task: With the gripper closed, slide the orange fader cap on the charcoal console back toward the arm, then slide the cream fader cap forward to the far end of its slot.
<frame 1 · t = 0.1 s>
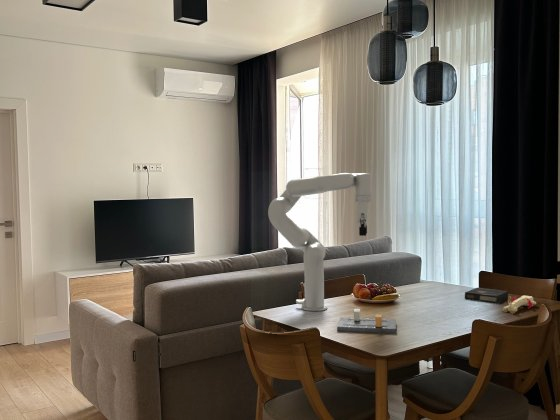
hand: (363, 234, 269), 37 cm above the table, tool pointing down, fingers open, 9 cm apart
cream fader: (357, 314, 244), point 4 cm above the table, slide at 2.5 cm
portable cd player: (486, 299, 294), on the table
orange fader: (378, 320, 233), point 4 cm above the table, slide at 12.0 cm
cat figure: (519, 309, 270), on the table
console: (367, 327, 239), on the table
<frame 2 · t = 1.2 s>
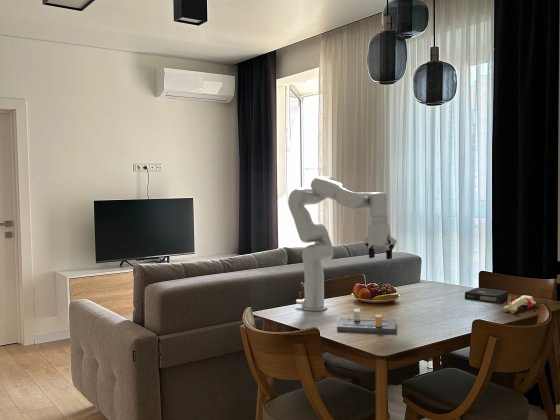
hand: (380, 258, 249), 28 cm above the table, tool pointing down, fingers open, 9 cm apart
nothing on the table moved.
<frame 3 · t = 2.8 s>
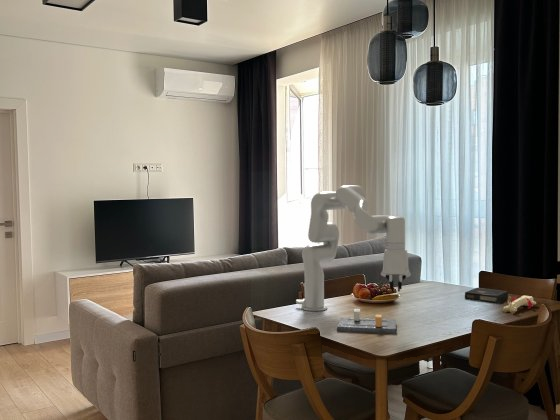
hand: (395, 290, 231), 17 cm above the table, tool pointing down, fingers closed
nothing on the table moved.
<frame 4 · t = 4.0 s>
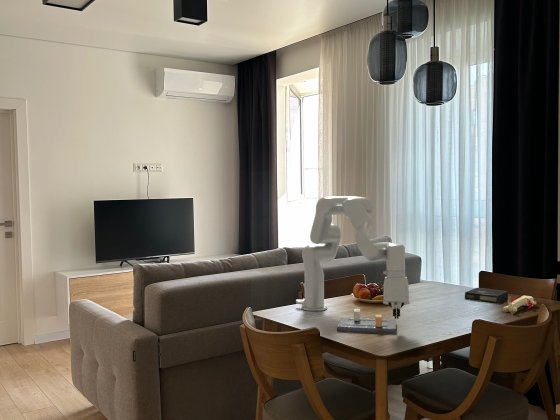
hand: (396, 318, 231), 6 cm above the table, tool pointing down, fingers closed
nothing on the table moved.
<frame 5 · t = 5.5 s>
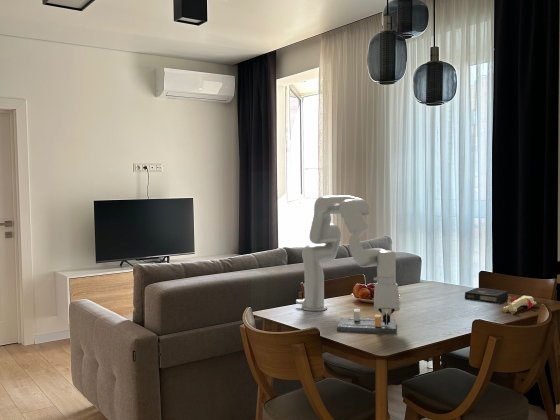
hand: (386, 324, 232), 3 cm above the table, tool pointing down, fingers closed
orange fader: (377, 320, 233), point 4 cm above the table, slide at 11.7 cm, touching gripper
everything else where it was.
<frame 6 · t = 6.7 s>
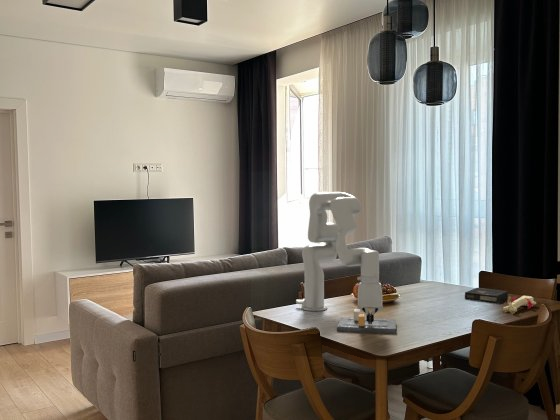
hand: (370, 323, 234), 3 cm above the table, tool pointing down, fingers closed
orange fader: (361, 319, 234), point 4 cm above the table, slide at 4.9 cm, touching gripper
everything else where it was.
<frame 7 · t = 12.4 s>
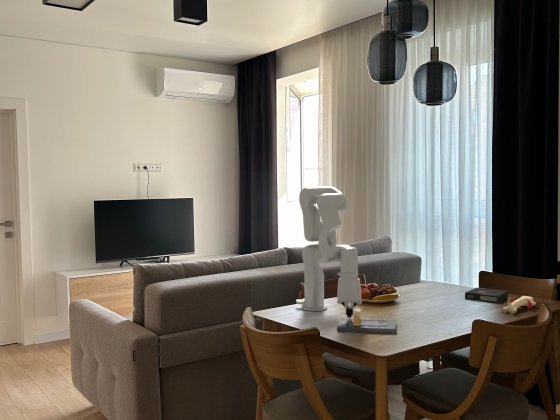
hand: (349, 317, 244), 3 cm above the table, tool pointing down, fingers closed
cream fader: (357, 314, 244), point 4 cm above the table, slide at 2.7 cm, touching gripper
orange fader: (356, 319, 235), point 4 cm above the table, slide at 3.0 cm
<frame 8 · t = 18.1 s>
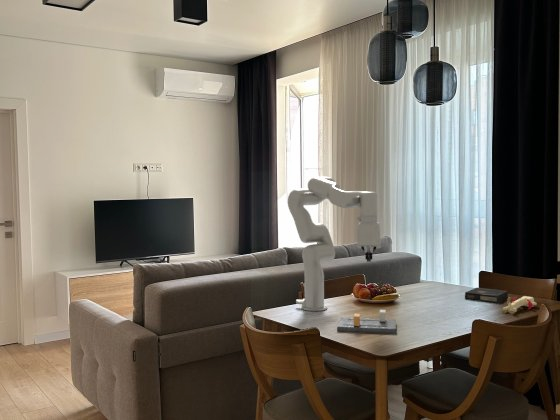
hand: (368, 261, 247), 27 cm above the table, tool pointing down, fingers closed
cream fader: (382, 315, 241), point 4 cm above the table, slide at 13.5 cm
at the end: orange fader slide at 3.0 cm; cream fader slide at 13.5 cm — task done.
